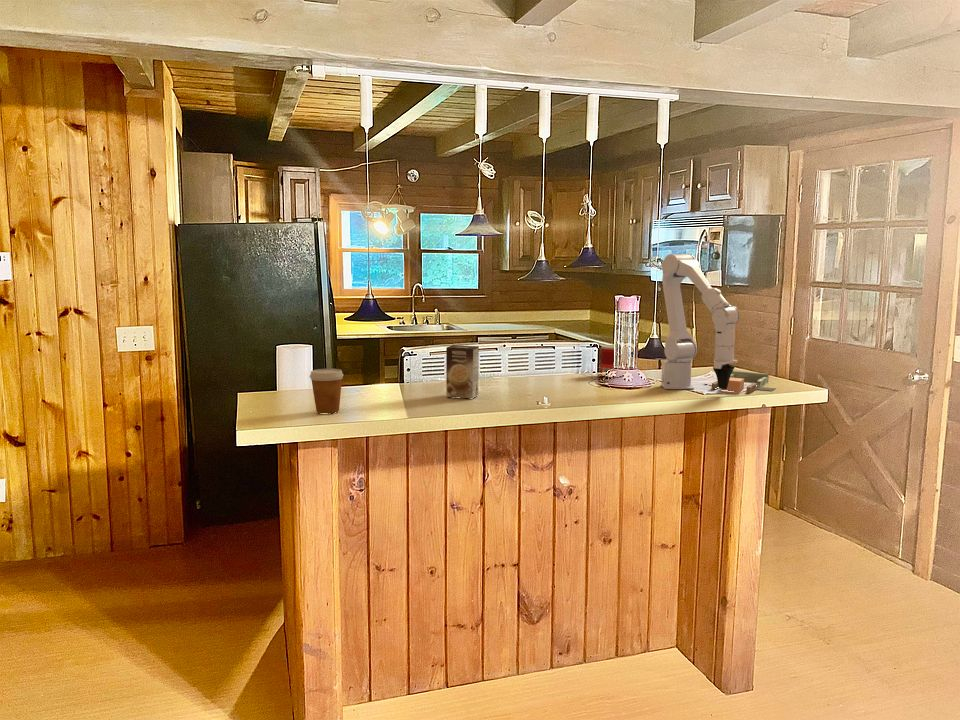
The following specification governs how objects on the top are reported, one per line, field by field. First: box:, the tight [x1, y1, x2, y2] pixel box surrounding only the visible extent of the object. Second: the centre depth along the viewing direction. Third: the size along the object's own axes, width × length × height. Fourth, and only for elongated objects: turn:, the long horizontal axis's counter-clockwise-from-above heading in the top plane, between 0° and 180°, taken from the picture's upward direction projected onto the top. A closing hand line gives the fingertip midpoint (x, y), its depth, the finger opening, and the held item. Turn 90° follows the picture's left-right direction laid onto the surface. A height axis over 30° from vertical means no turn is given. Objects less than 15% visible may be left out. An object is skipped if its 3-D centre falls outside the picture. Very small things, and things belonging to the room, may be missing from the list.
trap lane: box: [710, 370, 770, 394], centre depth 257 cm, size 24×12×3 cm, turn 147°
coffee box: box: [445, 344, 480, 399], centre depth 239 cm, size 9×6×16 cm
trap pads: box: [755, 386, 777, 392], centre depth 256 cm, size 5×22×1 cm, turn 57°
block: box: [720, 378, 745, 394], centre depth 249 cm, size 6×6×4 cm
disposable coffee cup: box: [309, 368, 344, 414], centre depth 218 cm, size 10×10×12 cm
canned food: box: [600, 344, 615, 374], centre depth 277 cm, size 8×8×11 cm
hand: (723, 388), depth 240 cm, fingers closed
